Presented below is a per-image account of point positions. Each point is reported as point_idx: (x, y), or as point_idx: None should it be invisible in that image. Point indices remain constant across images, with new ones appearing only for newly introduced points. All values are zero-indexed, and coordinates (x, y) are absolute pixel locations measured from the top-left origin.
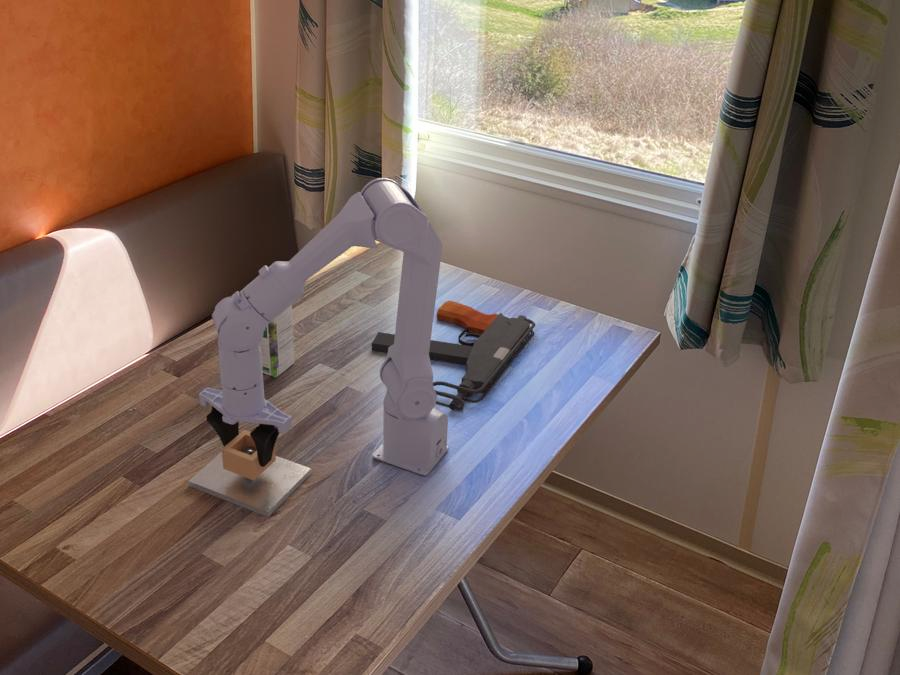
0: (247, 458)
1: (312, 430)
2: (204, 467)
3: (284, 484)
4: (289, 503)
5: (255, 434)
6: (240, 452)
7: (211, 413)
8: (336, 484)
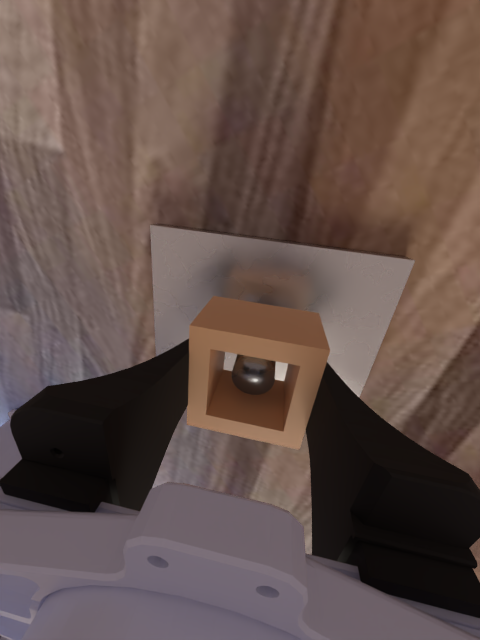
0: (212, 331)
1: (225, 465)
2: (387, 323)
3: (174, 325)
4: (147, 284)
5: (65, 418)
6: (253, 353)
7: (461, 537)
8: (108, 360)
